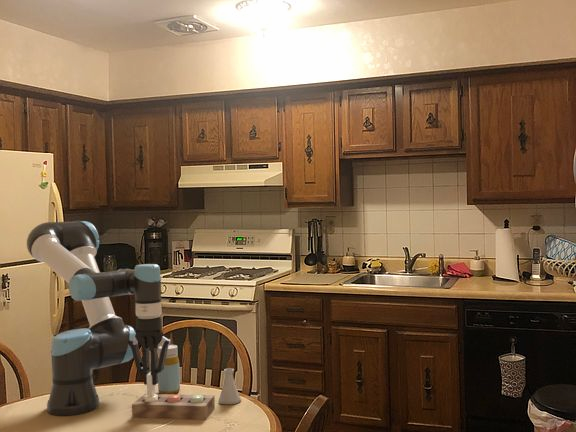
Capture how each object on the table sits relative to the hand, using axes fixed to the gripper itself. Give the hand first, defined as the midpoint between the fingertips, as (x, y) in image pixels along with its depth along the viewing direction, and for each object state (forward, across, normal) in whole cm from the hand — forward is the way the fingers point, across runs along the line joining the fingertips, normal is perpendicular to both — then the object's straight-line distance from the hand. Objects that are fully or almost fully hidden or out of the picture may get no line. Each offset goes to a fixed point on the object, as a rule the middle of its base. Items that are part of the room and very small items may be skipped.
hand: (151, 395), depth 184 cm
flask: (+6, +21, +12) cm, 25 cm away
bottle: (+5, -2, +20) cm, 21 cm away
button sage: (+4, +14, 0) cm, 14 cm away
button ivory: (+4, 0, 0) cm, 4 cm away
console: (+5, +7, 0) cm, 9 cm away
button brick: (+4, +7, 0) cm, 8 cm away
